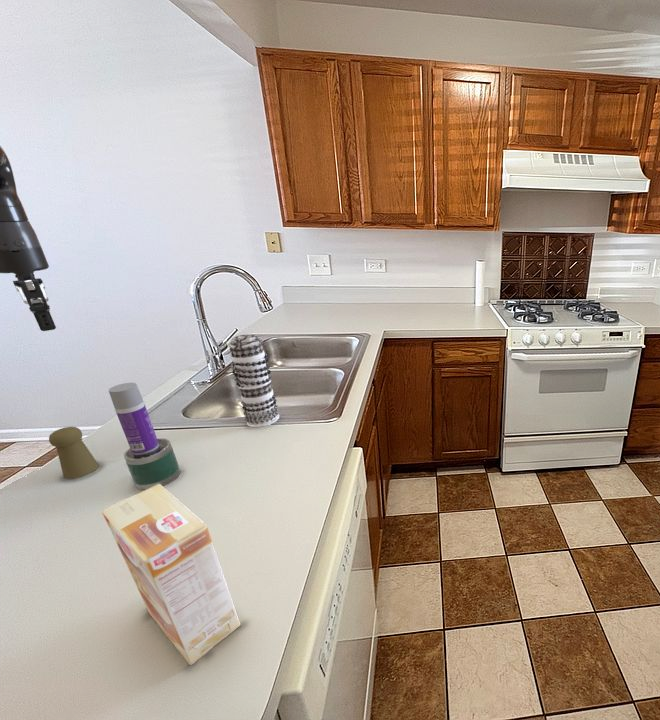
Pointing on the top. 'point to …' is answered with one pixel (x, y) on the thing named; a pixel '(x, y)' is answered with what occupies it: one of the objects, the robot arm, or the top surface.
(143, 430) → the container
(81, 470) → the cork
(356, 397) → the top surface
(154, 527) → the coffeecake box
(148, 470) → the tin can
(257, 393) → the decorative candle
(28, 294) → the robot arm
